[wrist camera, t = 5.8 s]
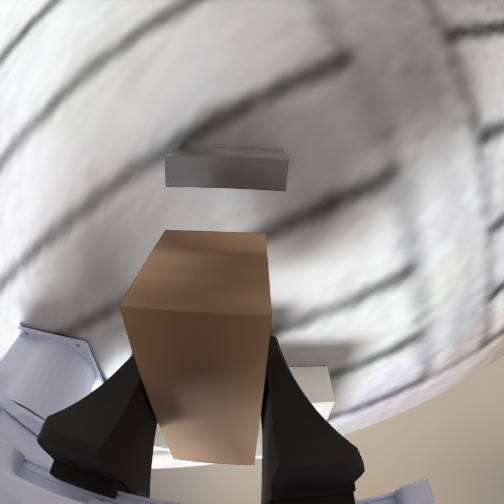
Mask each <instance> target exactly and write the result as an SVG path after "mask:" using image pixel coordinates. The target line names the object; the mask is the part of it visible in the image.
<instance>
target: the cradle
mask: <svg viewBox="0 0 504 504" xmlns="http://www.w3.org/2000/svg"><path fill="white" fill-rule="evenodd" d="M287 170H288V158H287V157H286V155H285V154H284V152H283V151H278V150H263V149H243V148H204V147H180V148H177V149H176V150H174V151H172V152H171V153H169V154H167V155H166V156H165V177H166V187H206V188H235V189H257V190H274V191H286V181H287Z"/></svg>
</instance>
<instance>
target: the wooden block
mask: <svg viewBox="0 0 504 504" xmlns="http://www.w3.org/2000/svg"><path fill="white" fill-rule="evenodd" d="M120 308H121V312H122V316H123V320H124V323H125V327H126V331H127V334H128V338H129V341H130V344H131V348H132V351H133V354H134V357H135V361H136V364H137V367H138V370H139V373H140V376H141V379H142V382H143V384H144V387H145V390H146V393H147V396H148V398H149V401H150V404H151V406H152V409H153V411H154V414H155V416H156V419H157V421H158V424H159V426H160V429H161V431H162V433H163V436H164V438H165V440H166V443H167V445H168V447H169V449H170V452H171V454H172V456H173V458H174V459H179V460H187V461H195V462H205V463H217V464H234V465H254V463H255V455H256V448H257V440H258V432H259V424H260V416H261V408H262V400H263V392H264V383H265V374H266V365H267V356H268V347H269V338H270V328H271V318H272V311H271V297H270V284H269V271H268V258H267V245H266V233H243V232H214V231H180V230H165V232H164V233H163V235H162V237H161V238H160V240H159V241H158V243H157V244H156V246H155V247H154V249H153V251H152V252H151V254H150V255H149V257H148V259H147V260H146V262H145V264H144V265H143V267H142V268H141V270H140V272H139V273H138V275H137V277H136V278H135V280H134V282H133V283H132V285H131V287H130V289H129V290H128V292H127V294H126V295H125V297H124V299H123V301H122V302H121V304H120Z"/></svg>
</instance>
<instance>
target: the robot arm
mask: <svg viewBox="0 0 504 504" xmlns="http://www.w3.org/2000/svg"><path fill="white" fill-rule="evenodd" d="M17 330H18V333H19V337H18V338H17V339H16V341H15V342H14V344H13V345H12V346H11V348H10V349H9V351H8V352H7V354H6V355H5V356H4V358H3V359H2V361H1V362H0V504H179V503H172V502H167V501H161V500H156V499H150V477H151V465H152V456H153V448H154V440H155V434H156V428H157V423H158V421H157V419H156V416H155V414H154V411H153V409H152V406H151V404H150V401H149V398H148V396H147V393H146V390H145V387H144V384H143V382H142V379H141V376H140V373H139V370H138V367H137V364H136V361H135V357H134V354H133V355H132V356H131V357H130V358H129V359H128V360H127V361H126V362H125V363H124V364H123V365H122V366H121V367H120V368H119V369H118V370H117V371H116V372H115V373H114V374H113V375H112V376H111V377H110V378H109V379H108V380H107V381H105V382H104V381H103V379H102V376H101V374H100V372H99V370H98V367H97V365H96V363H95V360H94V358H93V355H92V353H91V350H90V348H89V345H88V343H87V342H86V341H84V340H79V339H74V338H69V337H64V336H60V335H55V334H51V333H46V332H42V331H38V330H34V329H30V328H26V327H22V326H19V327H18V328H17ZM91 391H93V392H91ZM90 392H91V393H90ZM261 425H262V497H261V504H435V501H434V497H433V494H432V490H431V487H430V483H429V480H428V479H427V478H426V479H423V480H420V481H416V482H413V483H410V484H406V485H403V486H401V487H399V488H398V489H396V490H395V491H394V492H392V493H388V494H384V495H380V496H376V497H371V498H366V499H361V500H356V501H355V499H354V493H353V492H354V491H355V483H354V482H355V481H356V480H357V479H358V478H359V477H360V476H361V475H362V474H363V472H364V471H365V469H364V464H363V460H362V458H361V456H360V453H359V451H358V449H357V447H355V446H354V445H353V444H351V443H350V442H349V441H348V440H346V439H345V438H344V437H343V436H342V435H340V434H339V433H338V432H337V431H336V430H335V429H334V428H333V427H332V426H331V425H330V424H329V423H328V422H327V421H326V420H325V419H324V418H323V417H322V416H321V414H320V413H319V412H318V411H317V410H316V409H315V407H314V406H313V405H312V404H311V402H310V401H309V400H308V398H307V397H306V395H305V394H304V393H303V391H302V390H301V388H300V386H299V385H298V383H297V382H296V380H295V378H294V376H293V375H292V373H291V371H290V369H289V367H288V365H287V363H286V361H285V359H284V357H283V354H282V352H281V349H280V347H279V344H278V341H277V338H276V337H275V336H270V338H269V347H268V356H267V365H266V374H265V383H264V392H263V400H262V408H261Z"/></svg>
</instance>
